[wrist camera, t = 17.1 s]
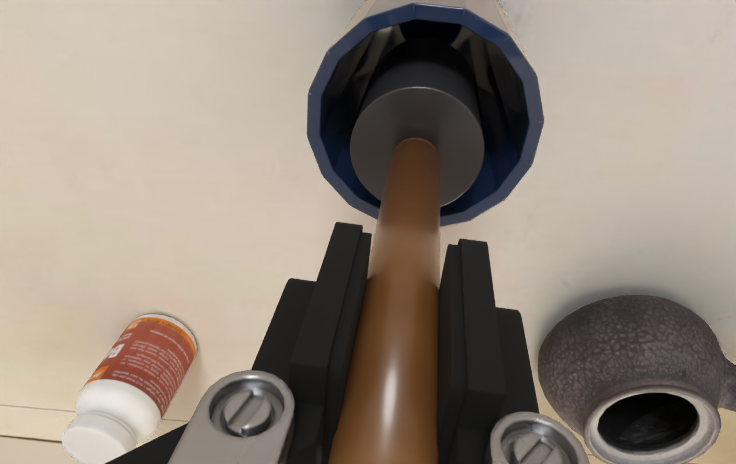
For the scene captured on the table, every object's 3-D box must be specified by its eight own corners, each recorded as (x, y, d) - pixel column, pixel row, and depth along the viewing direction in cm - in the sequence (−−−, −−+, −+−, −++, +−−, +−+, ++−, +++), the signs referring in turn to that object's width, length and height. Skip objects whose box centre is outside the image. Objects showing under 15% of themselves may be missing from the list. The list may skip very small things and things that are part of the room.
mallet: (377, 31, 22) (181, 428, 6) (483, 43, 22) (610, 497, 5) (368, 130, 25) (211, 621, 8) (463, 142, 25) (510, 675, 8)
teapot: (550, 435, 47) (574, 553, 38) (522, 299, 40) (543, 408, 31) (799, 412, 42) (889, 541, 34) (820, 252, 35) (941, 366, 26)
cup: (365, -48, 29) (310, -10, 17) (519, -31, 28) (572, 20, 17) (354, 101, 33) (304, 213, 21) (487, 117, 33) (511, 242, 21)
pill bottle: (135, 300, 44) (53, 407, 35) (206, 327, 45) (144, 440, 36) (124, 348, 48) (46, 459, 38) (191, 373, 48) (130, 488, 39)
